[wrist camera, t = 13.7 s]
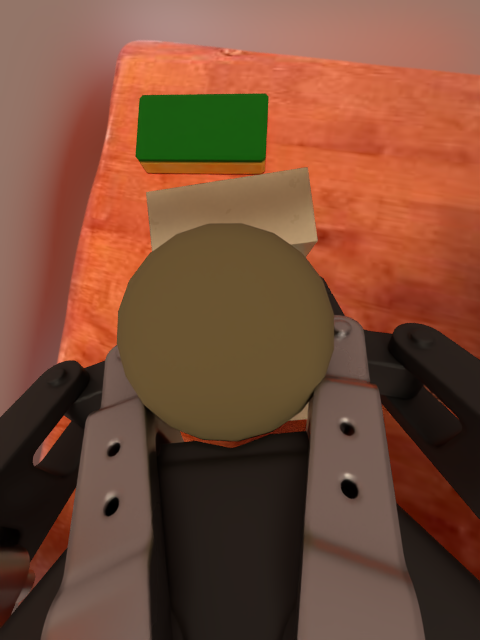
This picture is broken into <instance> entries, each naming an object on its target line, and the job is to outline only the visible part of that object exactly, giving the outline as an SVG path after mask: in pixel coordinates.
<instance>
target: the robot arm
mask: <svg viewBox="0 0 480 640" xmlns="http://www.w3.org/2000/svg"><path fill="white" fill-rule="evenodd" d="M321 279H322V280H323V283H324V286H325V289H326V292H327V295H328V298H329V301H330V304H331V307H332V310H333V313H334V351H333V354H332V357H331V360H330V363H329V366H328V369H327V372H326V375H325V377H324V378H323V379H322V381H321V382H320V383H319V384H318V385H317V386H316V387H315V388H314V392H313V397H312V398H311V399H310V401H309V403H308V414H307V424H306V431H302V432H291V433H280V434H270V435H267V436H264V437H262V438H259V439H256V440H254V441H251V442H249V443H246V444H243V445H241V446H238V447H235V448H228V447H223V446H218V445H213V444H208V443H203V442H198V441H190V442H184V441H183V438H182V436H181V433H180V431H179V430H176V429H174V428H171V427H170V426H169V425H167V424H166V423H165V422H164V421H163V420H161V419H160V418H159V417H158V416H156V415H155V414H154V413H153V412H151V411H150V410H149V409H148V408H147V407H146V406H145V405H144V404H143V403H142V401H141V399H140V398H139V396H138V395H137V393H136V392H135V390H134V389H133V387H132V386H131V384H130V383H129V381H128V379H127V378H126V376H125V372H124V369H123V365H122V361H121V358H120V354H119V350H118V346H117V345H116V346H115V347H114V348H113V349H112V350H111V351H110V352H109V353H108V355H107V357H106V360H105V361H103V362H100V363H97V364H95V365H92V366H89V367H86V368H83V367H82V366H81V365H80V364H79V363H78V362H76V361H64V362H61V363H59V364H57V365H55V366H53V367H51V368H50V369H48V370H47V371H46V372H44V373H43V374H42V376H40V377H39V378H38V379H37V380H36V381H35V382H34V383H33V384H32V386H31V387H30V388H29V389H28V390H27V391H26V392H25V393H24V394H23V395H22V396H21V397H20V398H19V399H18V400H17V401H16V402H15V403H14V404H13V405H12V406H11V407H10V408H9V409H8V410H7V411H6V412H5V413H4V414H3V415H2V416H1V417H0V640H480V581H479V580H478V579H477V578H476V577H475V576H474V575H473V574H472V573H470V572H469V571H468V570H467V569H466V568H465V567H464V566H463V565H462V564H461V563H460V562H459V561H458V560H457V559H456V558H454V557H453V556H452V555H451V554H450V553H449V552H448V551H447V550H446V549H445V548H444V547H443V546H442V545H441V544H440V543H438V542H437V541H436V540H435V539H434V538H433V537H432V536H431V535H430V534H429V533H428V532H427V531H426V530H425V529H424V528H422V527H421V526H420V525H419V524H418V523H417V522H416V521H415V520H414V519H413V518H412V517H411V516H410V515H409V514H408V513H406V512H405V511H404V510H403V509H402V508H401V507H400V506H399V505H398V504H397V503H396V500H395V493H394V487H393V480H392V473H391V466H390V460H389V453H388V446H387V440H386V433H385V426H384V419H383V413H382V406H381V403H382V404H383V405H384V407H385V408H386V409H387V410H388V411H389V413H390V414H391V415H392V416H393V417H394V419H395V420H396V421H397V422H398V423H399V424H400V426H401V427H402V428H403V429H404V430H405V432H406V433H407V434H408V435H409V436H410V437H411V439H412V440H413V441H414V442H415V443H416V445H417V446H418V447H419V448H420V449H421V451H422V452H423V453H424V454H425V455H426V456H427V458H428V459H429V460H430V461H431V462H432V464H433V465H434V466H435V467H436V468H437V469H438V471H439V472H440V473H441V474H442V475H443V477H444V478H445V479H446V480H447V481H448V483H449V484H450V485H451V486H452V487H453V488H454V490H455V491H456V492H457V493H458V494H459V496H460V497H461V498H462V499H463V500H464V501H465V503H466V504H467V505H468V506H469V507H470V509H471V510H472V511H473V512H474V513H475V515H476V516H477V517H478V518H479V519H480V360H479V359H477V358H476V357H475V356H473V355H472V354H470V353H469V352H468V351H466V350H465V349H463V348H462V347H460V346H459V345H458V344H456V343H455V342H453V341H452V340H450V339H449V338H448V337H446V336H445V335H443V334H442V333H441V332H439V331H437V330H436V329H434V328H432V327H429V326H426V325H423V324H418V323H405V324H401V325H399V326H398V327H396V328H395V330H394V332H393V334H389V333H381V332H373V331H367V330H364V329H363V328H362V326H361V325H360V324H359V323H358V322H357V321H355V320H354V319H352V318H349V317H346V316H345V315H344V314H343V312H342V310H341V308H340V307H339V305H338V303H337V301H336V300H335V298H334V296H333V294H331V291H330V289H329V288H328V286H327V284H326V282H325V280H324V279H323V278H322V277H321ZM424 385H425V386H426V387H427V388H428V389H429V390H430V391H431V392H432V393H433V394H434V395H435V396H436V397H438V398H439V399H440V400H441V401H442V402H443V403H444V404H445V405H446V406H447V407H448V408H449V409H450V410H451V411H452V412H453V413H454V414H455V415H456V416H457V417H458V419H457V418H456V417H455V416H454V415H453V414H452V413H451V412H450V411H449V410H448V409H447V408H446V407H445V406H444V405H443V404H442V403H441V402H439V401H438V400H437V399H436V398H435V397H434V396H433V395H432V394H431V393H430V392H429V391H428V390H427V389H426V388H425V387H424ZM63 416H66V417H67V418H69V419H70V420H71V423H70V424H69V425H68V427H67V428H66V429H65V431H64V432H63V433H62V435H61V436H60V437H59V439H58V440H57V441H56V443H55V444H54V445H53V447H52V448H51V449H50V451H49V452H48V453H47V455H46V456H45V457H44V459H43V460H42V461H41V462H40V463H39V464H38V465H36V466H34V465H33V456H34V454H35V452H36V450H37V449H38V447H39V446H40V445H41V444H42V442H43V441H44V440H45V439H46V437H47V436H48V435H49V433H50V432H51V431H52V430H53V428H54V427H55V426H56V425H57V423H58V422H59V421H60V419H61V418H62V417H63ZM75 488H76V493H75V500H74V507H73V514H72V521H71V528H70V535H69V542H68V548H67V549H66V550H65V551H64V552H63V554H62V555H61V556H60V557H59V558H58V560H57V561H56V562H55V563H54V564H53V566H52V567H51V568H50V569H49V570H48V572H47V573H46V574H45V575H44V576H43V578H42V579H41V580H40V581H39V582H38V584H37V585H36V586H35V587H34V588H33V590H32V591H31V592H30V590H31V588H32V586H33V584H34V581H35V573H34V571H33V570H30V569H29V567H30V562H31V560H32V558H33V557H34V555H35V554H36V552H37V550H38V549H39V547H40V545H41V544H42V542H43V540H44V539H45V537H46V535H47V534H48V532H49V530H50V529H51V527H52V526H53V524H54V522H55V521H56V519H57V517H58V516H59V514H60V512H61V511H62V509H63V507H64V506H65V504H66V503H67V501H68V499H69V498H70V496H71V494H72V493H73V491H74V489H75ZM29 592H30V593H29ZM28 593H29V594H28ZM27 595H28V596H27ZM26 596H27V597H26ZM25 597H26V598H25ZM24 598H25V599H24ZM23 599H24V600H23ZM22 600H23V602H22V603H21V604H20V605H19V606H18V608H17V609H16V610H15V612H13V614H12V615H11V613H12V611H13V608H14V606H15V604H16V603H19V602H20V601H22Z"/></svg>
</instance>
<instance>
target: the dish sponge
mask: <svg viewBox="0 0 480 640" xmlns="http://www.w3.org/2000/svg"><path fill="white" fill-rule="evenodd" d="M267 117H268V96H267V95H266V94H197V95H143V96H142V97H141V98H140V101H139V115H138V130H137V144H136V158H137V159H138V160H139V162H140V163H141V165H142V166H143V168H144V169H145V170H146V172H147V173H207V174H262V173H263V172H264V171H265V158H266V138H267Z"/></svg>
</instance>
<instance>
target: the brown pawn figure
mask: <svg viewBox="0 0 480 640" xmlns="http://www.w3.org/2000/svg"><path fill="white" fill-rule="evenodd" d="M117 346H118V350H119V354H120V358H121V361H122V365H123V369H124V372H125V376H126V378H127V379H128V381H129V383H130V384H131V386H132V387H133V389H134V390H135V392H136V393H137V395H138V396H139V398H140V399H141V401H142V403H143V404H144V405H145V406H146V407H147V408H148V409H149V410H150V411H151V412H153V413H154V414H155V415H156V416H158V417H159V418H160V419H161V420H163V421H164V422H165V423H166V424H167V425H169V426H170V427H171V428H174V429H176V430H179V431H182V432H184V433H187V434H189V435H192V436H195V437H197V438H200V439H202V440H217V441H242V440H245V439H249V438H252V437H256V436H259V435H263V434H266V433H270V432H273V431H274V430H275V429H277V428H278V427H280V426H281V425H283V424H284V423H286V422H287V421H289V420H290V419H291V418H293V417H294V416H296V415H297V414H299V413H300V412H302V410H303V409H304V408H305V406H306V405H307V404H308V402H309V401H310V399H311V398H312V397H313V392H314V388H315V387H316V386H317V385H318V384H319V383H320V382H321V381H322V379H323V378H324V377H325V375H326V372H327V369H328V366H329V363H330V360H331V357H332V354H333V351H334V313H333V310H332V307H331V304H330V301H329V298H328V295H327V292H326V289H325V286H324V283H323V280H322V279H321V277H320V276H319V275H318V273H317V272H316V271H315V269H314V268H313V267H312V265H311V264H310V263H309V261H308V260H307V259H306V257H305V256H304V255H303V253H302V252H300V251H299V250H297V249H296V248H295V247H293V246H292V245H290V244H289V243H288V242H286V241H285V240H283V239H282V238H280V237H279V236H278V235H276V234H275V233H272V232H269V231H266V230H263V229H259V228H256V227H253V226H250V225H246V224H243V223H209V224H205V225H202V226H199V227H196V228H193V229H190V230H187V231H184V232H181V233H178V234H176V235H175V236H173V237H172V238H171V239H169V240H168V241H166V242H165V243H164V244H162V245H161V246H159V247H158V248H157V249H155V250H154V251H152V252H151V253H150V254H149V255H148V257H147V258H146V259H145V260H144V262H143V263H142V264H141V266H140V267H139V268H138V270H137V271H136V272H135V274H134V275H133V276H132V278H131V279H130V280H129V283H128V286H127V288H126V291H125V294H124V297H123V300H122V302H121V305H120V308H119V311H118V329H117Z"/></svg>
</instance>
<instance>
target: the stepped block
mask: <svg viewBox="0 0 480 640" xmlns="http://www.w3.org/2000/svg"><path fill="white" fill-rule="evenodd" d="M146 196H147V206H148V216H149V226H150V236H151V246H152V251H154V250H155V249H157V248H158V247H159V246H161V245H162V244H164V243H165V242H166V241H168V240H169V239H171V238H172V237H173V236H175V235H176V234H178V233H181V232H184V231H187V230H190V229H193V228H196V227H199V226H202V225H205V224H209V223H243V224H246V225H250V226H253V227H256V228H259V229H263V230H266V231H269V232H272V233H275V234H276V235H278V236H279V237H280V238H282V239H283V240H285V241H286V242H288V243H289V244H290V245H292V246H293V247H295V248H296V249H297V250H299V251H300V252H302V253H303V255H304V256H305V257H306V256H307V255H308V253H309V252H310V251H311V249H312V248H313V246H314V245H315V244H316V242H317V233H316V225H315V218H314V210H313V203H312V195H311V188H310V180H309V173H308V168H307V167H306V168H299V169H293V170H286V171H280V172H273V173H267V174H260V175H254V176H247V177H241V178H235V179H228V180H222V181H215V182H209V183H202V184H196V185H189V186H183V187H176V188H170V189H164V190H157V191H151V192H146ZM308 403H309V402H308ZM307 414H308V404H307V405H306V406H305V408H304V409H303V410H302V412H300V413H299V414H297V415H296V416H294V417H293V418H291V419H290V420H289V421H291V420H302V419H307Z"/></svg>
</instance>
